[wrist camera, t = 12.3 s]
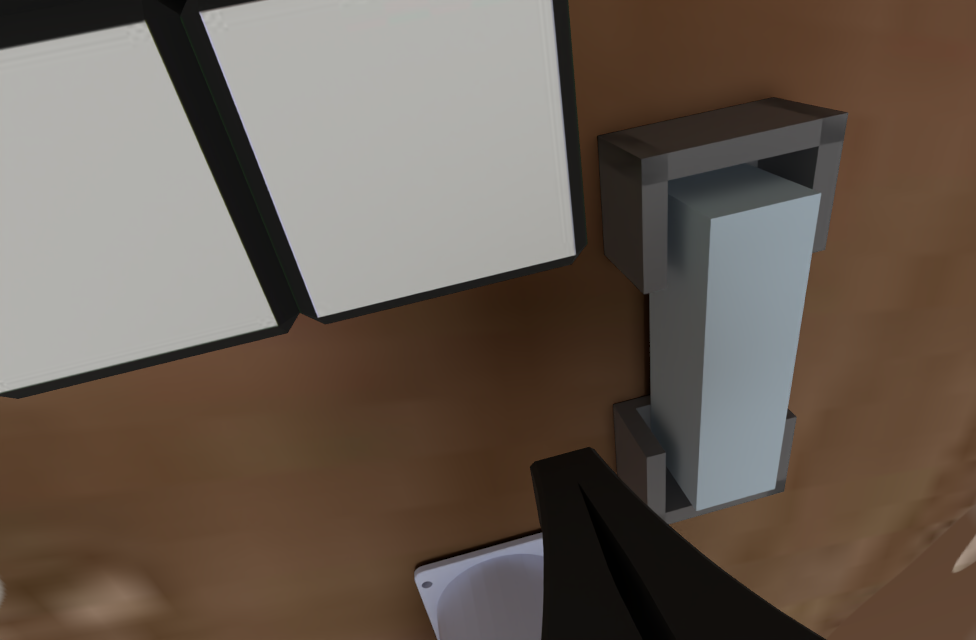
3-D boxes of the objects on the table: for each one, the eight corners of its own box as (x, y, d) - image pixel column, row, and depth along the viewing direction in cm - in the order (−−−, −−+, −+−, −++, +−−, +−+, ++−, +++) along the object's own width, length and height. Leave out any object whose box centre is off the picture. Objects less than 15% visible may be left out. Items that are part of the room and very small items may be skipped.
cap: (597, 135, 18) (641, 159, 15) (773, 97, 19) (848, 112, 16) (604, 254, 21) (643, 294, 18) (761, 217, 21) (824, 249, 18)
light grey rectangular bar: (719, 424, 25) (775, 488, 22) (651, 443, 25) (695, 511, 22) (739, 160, 19) (821, 192, 16) (648, 182, 19) (710, 219, 15)
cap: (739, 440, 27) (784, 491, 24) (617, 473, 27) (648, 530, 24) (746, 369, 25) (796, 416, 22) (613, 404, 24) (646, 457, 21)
